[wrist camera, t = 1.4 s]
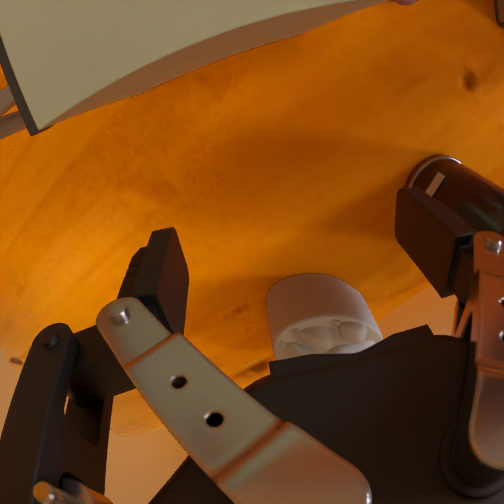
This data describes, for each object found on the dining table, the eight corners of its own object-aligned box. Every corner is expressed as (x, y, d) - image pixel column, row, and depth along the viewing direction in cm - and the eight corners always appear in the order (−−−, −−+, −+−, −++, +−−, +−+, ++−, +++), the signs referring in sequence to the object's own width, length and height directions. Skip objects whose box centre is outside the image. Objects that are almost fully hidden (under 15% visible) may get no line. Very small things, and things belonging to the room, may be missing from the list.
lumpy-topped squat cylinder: (322, 349, 44) (337, 398, 37) (246, 316, 40) (251, 372, 32) (374, 299, 40) (399, 347, 33) (298, 255, 35) (317, 307, 28)
